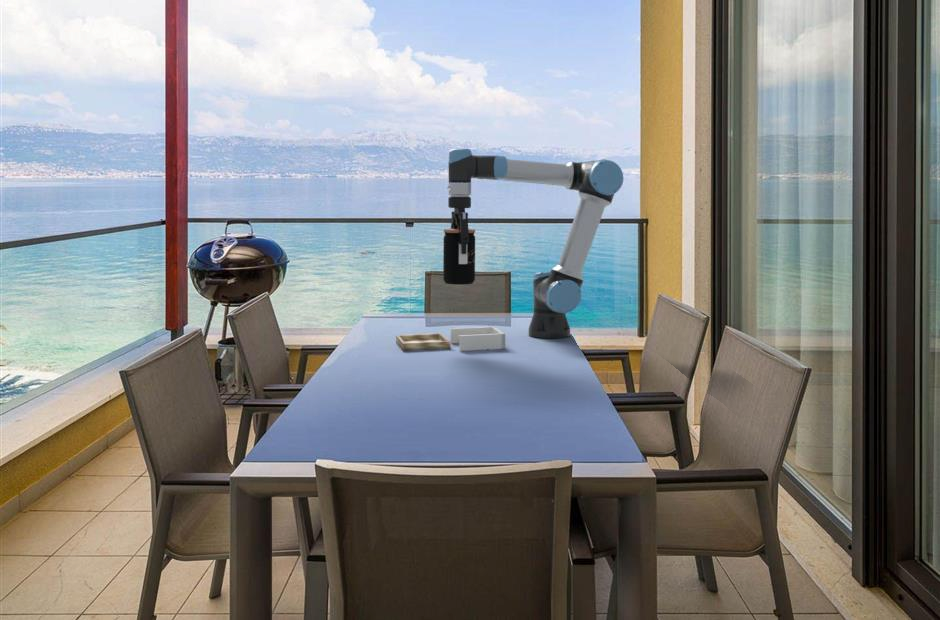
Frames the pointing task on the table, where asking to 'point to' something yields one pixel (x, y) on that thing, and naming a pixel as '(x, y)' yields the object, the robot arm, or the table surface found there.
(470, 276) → the coffee jar
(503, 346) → the frame
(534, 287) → the robot arm
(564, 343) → the table surface
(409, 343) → the tray
